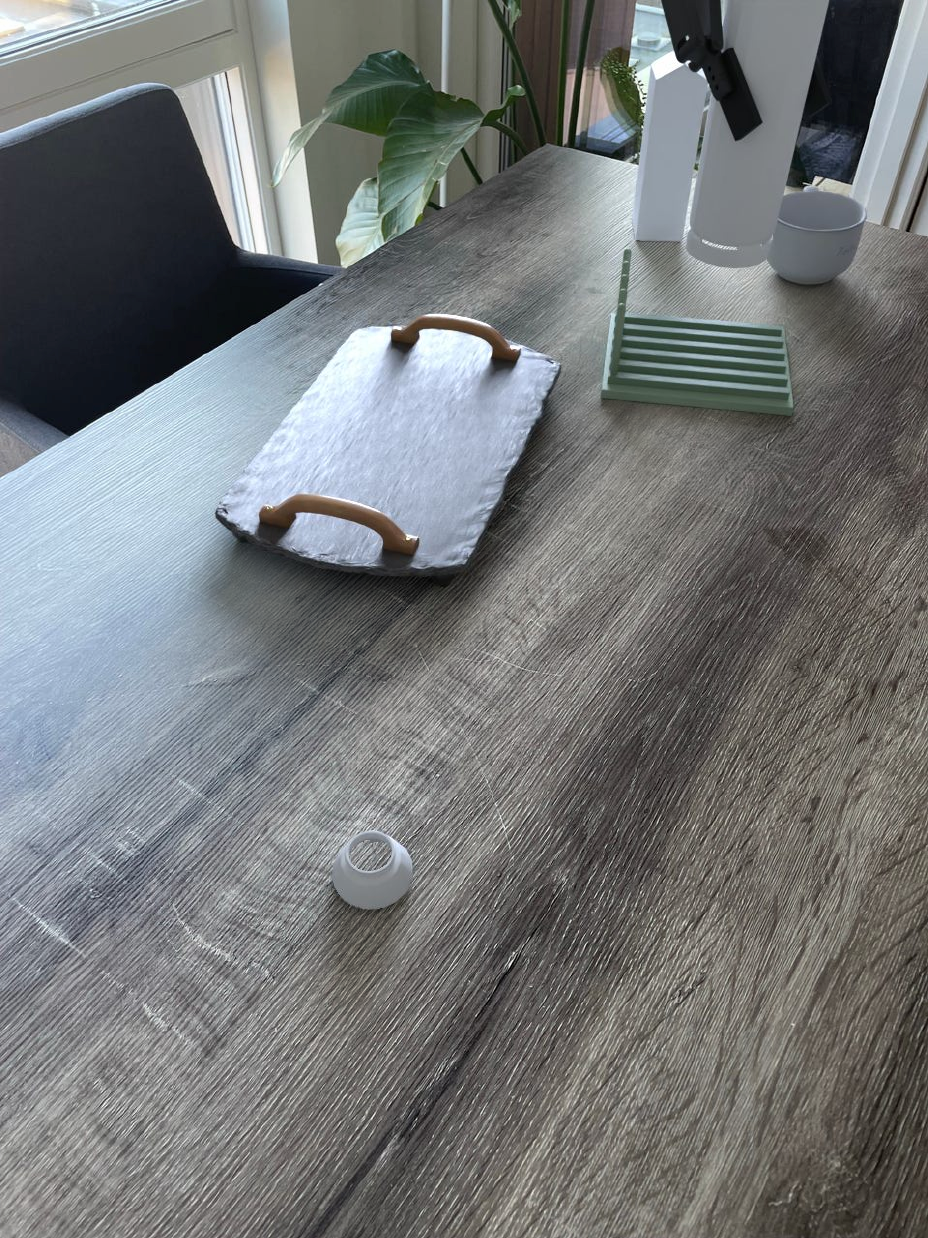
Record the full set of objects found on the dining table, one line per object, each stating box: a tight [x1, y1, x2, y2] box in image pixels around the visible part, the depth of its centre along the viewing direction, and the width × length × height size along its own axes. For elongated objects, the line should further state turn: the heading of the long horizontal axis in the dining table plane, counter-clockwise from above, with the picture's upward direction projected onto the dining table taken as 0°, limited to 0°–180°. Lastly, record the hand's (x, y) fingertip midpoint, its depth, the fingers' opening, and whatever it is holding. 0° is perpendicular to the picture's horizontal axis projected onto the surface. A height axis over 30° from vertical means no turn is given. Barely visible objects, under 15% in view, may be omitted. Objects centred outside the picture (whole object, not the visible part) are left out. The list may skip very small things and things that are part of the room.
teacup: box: [766, 185, 868, 286], centre depth 119 cm, size 14×11×8 cm
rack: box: [600, 247, 795, 417], centre depth 103 cm, size 19×16×9 cm
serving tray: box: [214, 313, 562, 588], centre depth 92 cm, size 39×23×6 cm, turn 162°
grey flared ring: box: [331, 830, 414, 911], centre depth 62 cm, size 5×3×5 cm
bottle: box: [684, 0, 830, 269], centre depth 87 cm, size 8×8×28 cm
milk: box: [631, 50, 709, 243], centre depth 121 cm, size 6×6×22 cm
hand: (784, 120), depth 86 cm, fingers closed on bottle, 8 cm apart
